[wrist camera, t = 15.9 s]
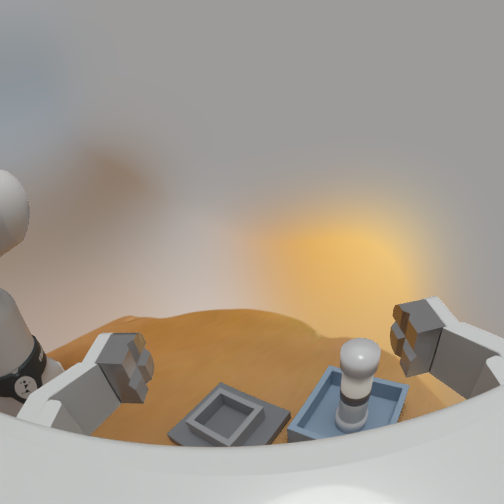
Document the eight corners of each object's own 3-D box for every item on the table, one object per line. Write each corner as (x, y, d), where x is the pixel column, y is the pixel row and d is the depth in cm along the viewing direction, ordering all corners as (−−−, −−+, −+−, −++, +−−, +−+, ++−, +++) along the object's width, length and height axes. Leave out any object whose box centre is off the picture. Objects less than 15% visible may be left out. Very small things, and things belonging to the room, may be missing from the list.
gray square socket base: (170, 439, 36) (160, 424, 34) (222, 388, 44) (217, 371, 43) (239, 482, 29) (233, 470, 27) (290, 417, 38) (289, 400, 36)
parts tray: (288, 443, 34) (287, 428, 32) (328, 383, 42) (329, 365, 41) (375, 473, 27) (381, 459, 25) (403, 403, 36) (409, 385, 34)
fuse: (329, 428, 34) (334, 359, 29) (342, 405, 37) (349, 334, 32) (359, 437, 31) (373, 369, 26) (370, 413, 35) (385, 342, 29)
